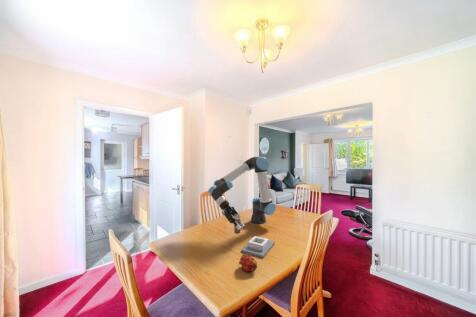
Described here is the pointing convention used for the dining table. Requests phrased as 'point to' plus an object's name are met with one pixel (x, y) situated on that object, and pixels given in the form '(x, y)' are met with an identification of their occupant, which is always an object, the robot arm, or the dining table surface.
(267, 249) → the socket board
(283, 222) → the dining table surface
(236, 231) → the cream round-topped cylinder
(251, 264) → the dragon fruit
